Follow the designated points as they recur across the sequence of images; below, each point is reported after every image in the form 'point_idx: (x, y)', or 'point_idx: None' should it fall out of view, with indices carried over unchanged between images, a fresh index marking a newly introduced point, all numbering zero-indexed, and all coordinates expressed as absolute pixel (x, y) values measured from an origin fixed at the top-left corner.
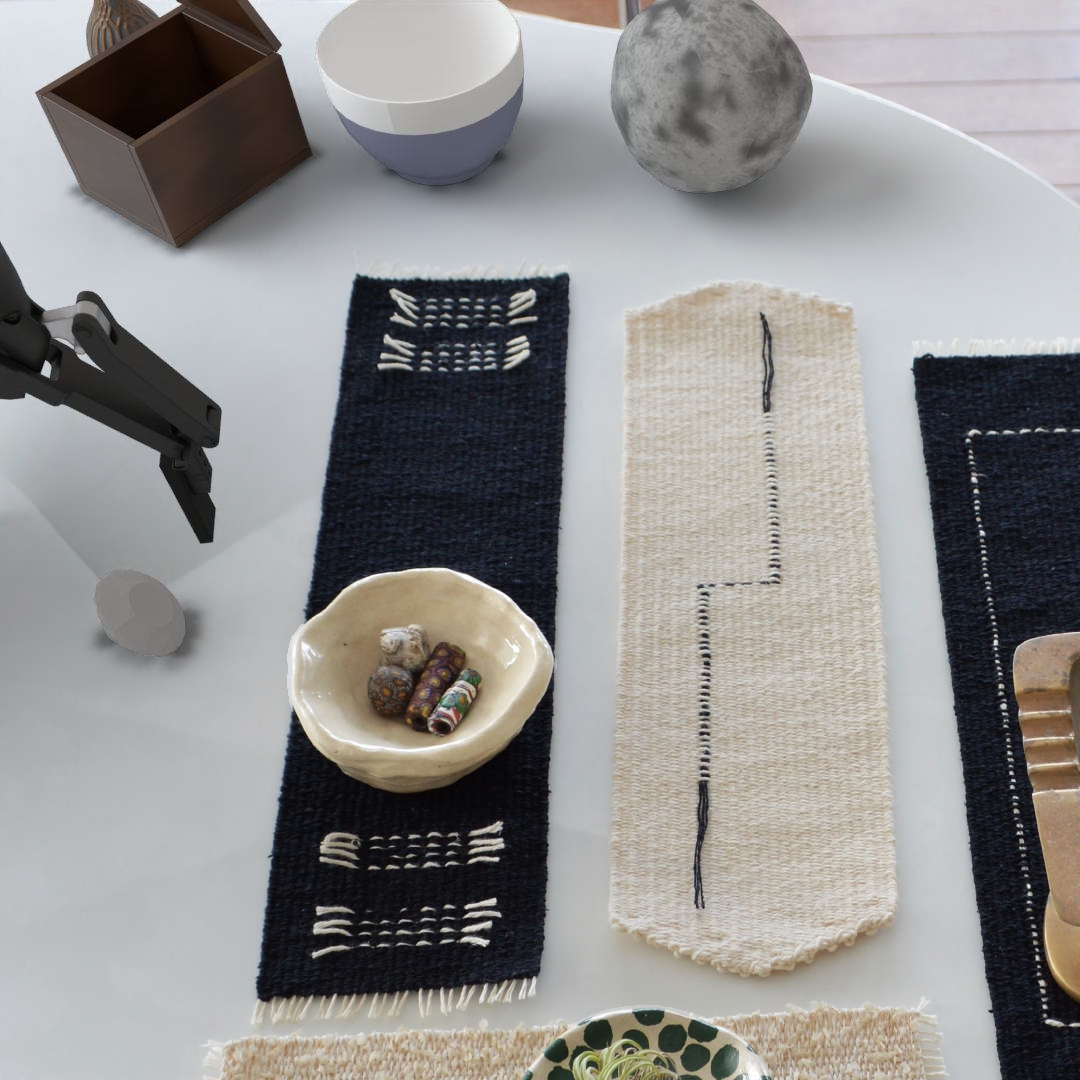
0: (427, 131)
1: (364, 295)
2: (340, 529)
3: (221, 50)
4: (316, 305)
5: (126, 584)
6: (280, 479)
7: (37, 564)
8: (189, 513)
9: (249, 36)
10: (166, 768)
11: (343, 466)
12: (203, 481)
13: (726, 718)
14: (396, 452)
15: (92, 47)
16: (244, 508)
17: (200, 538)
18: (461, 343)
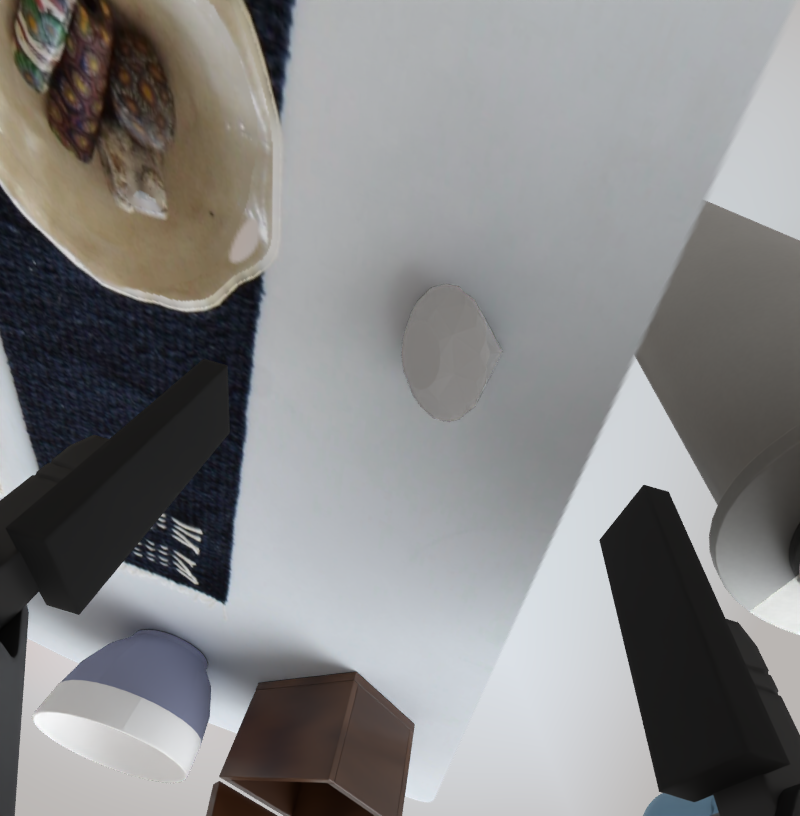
0: (114, 690)
1: (217, 588)
2: None
3: (276, 782)
4: (255, 596)
5: (437, 392)
6: (287, 467)
7: (549, 479)
8: (163, 411)
9: (236, 797)
10: (486, 61)
11: (226, 455)
12: (66, 460)
13: None
14: None
15: None
16: (324, 452)
17: (213, 370)
18: None
